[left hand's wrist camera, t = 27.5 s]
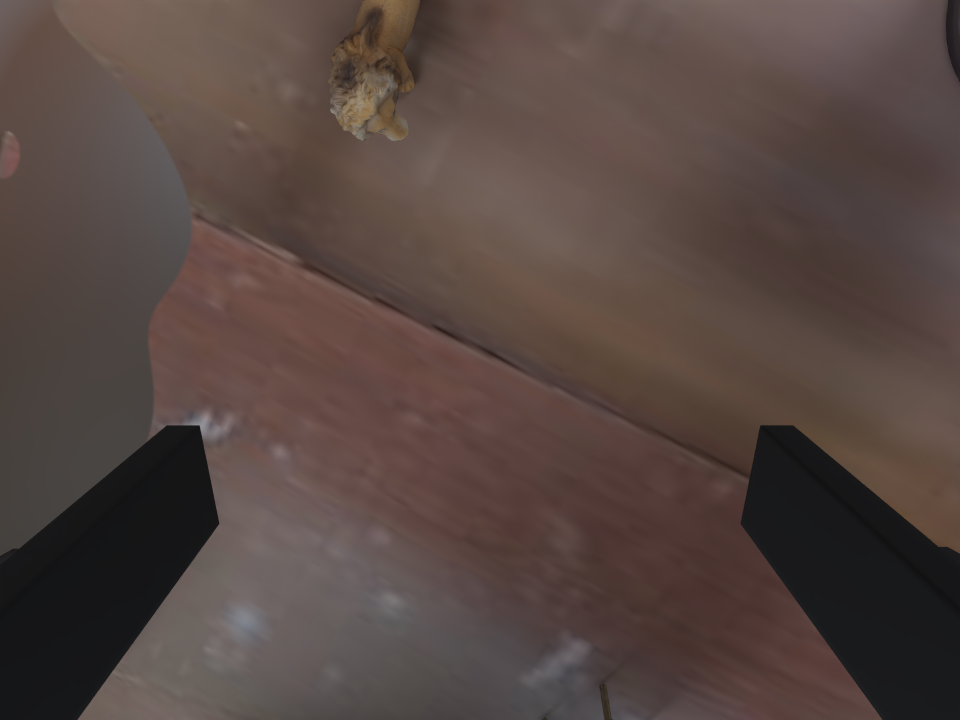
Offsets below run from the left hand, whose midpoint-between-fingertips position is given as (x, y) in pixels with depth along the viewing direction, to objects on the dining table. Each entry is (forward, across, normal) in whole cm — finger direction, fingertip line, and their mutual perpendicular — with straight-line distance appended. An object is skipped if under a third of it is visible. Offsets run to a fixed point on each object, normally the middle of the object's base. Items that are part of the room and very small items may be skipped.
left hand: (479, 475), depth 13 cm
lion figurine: (+29, -5, +15) cm, 33 cm away
